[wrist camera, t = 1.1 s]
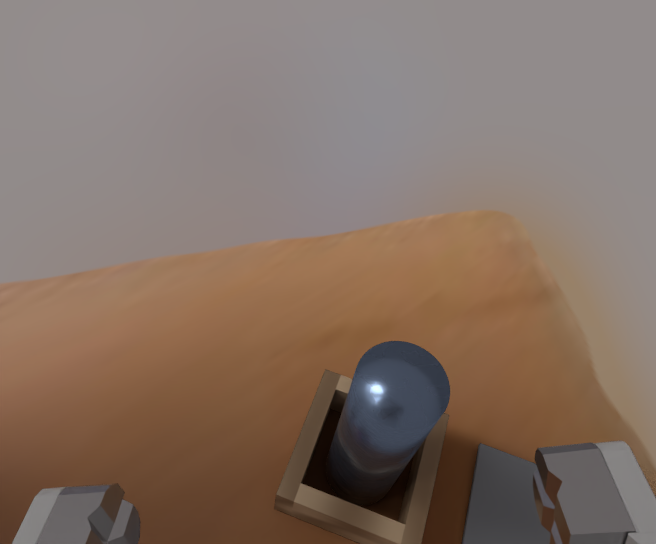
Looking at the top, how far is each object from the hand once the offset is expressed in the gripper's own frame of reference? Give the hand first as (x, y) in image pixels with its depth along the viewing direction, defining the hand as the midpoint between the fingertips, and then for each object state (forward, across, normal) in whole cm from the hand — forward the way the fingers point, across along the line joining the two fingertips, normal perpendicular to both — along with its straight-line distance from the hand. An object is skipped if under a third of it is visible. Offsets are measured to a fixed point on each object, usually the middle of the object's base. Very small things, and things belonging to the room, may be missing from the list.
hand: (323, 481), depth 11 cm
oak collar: (+17, +2, +25) cm, 30 cm away
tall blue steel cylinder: (+17, +2, +25) cm, 30 cm away
